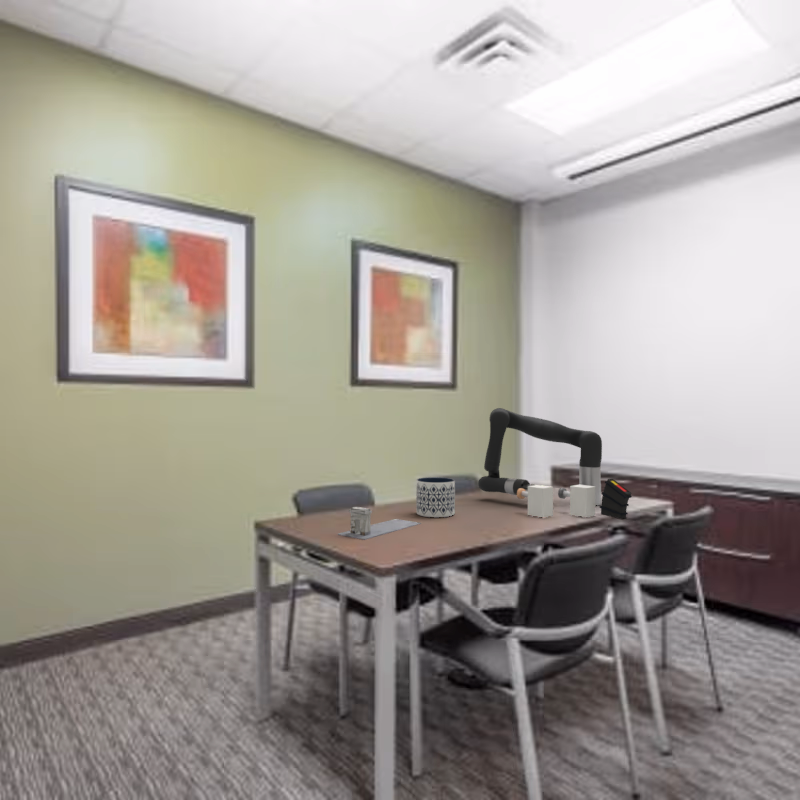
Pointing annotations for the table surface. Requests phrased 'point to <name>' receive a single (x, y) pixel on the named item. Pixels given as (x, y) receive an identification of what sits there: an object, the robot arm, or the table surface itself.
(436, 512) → the planter
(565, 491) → the knob
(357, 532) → the grey plate with block
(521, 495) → the knob
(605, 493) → the magazine
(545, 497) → the block
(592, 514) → the block
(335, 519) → the table surface
